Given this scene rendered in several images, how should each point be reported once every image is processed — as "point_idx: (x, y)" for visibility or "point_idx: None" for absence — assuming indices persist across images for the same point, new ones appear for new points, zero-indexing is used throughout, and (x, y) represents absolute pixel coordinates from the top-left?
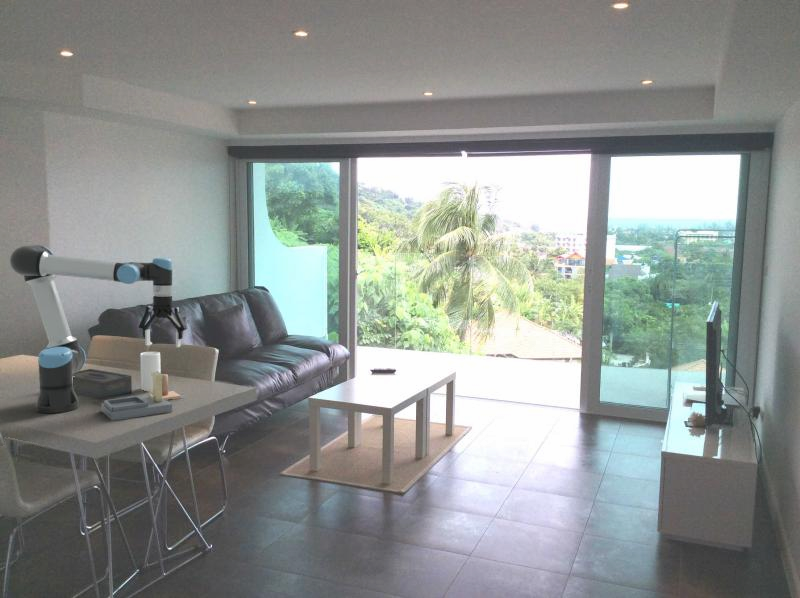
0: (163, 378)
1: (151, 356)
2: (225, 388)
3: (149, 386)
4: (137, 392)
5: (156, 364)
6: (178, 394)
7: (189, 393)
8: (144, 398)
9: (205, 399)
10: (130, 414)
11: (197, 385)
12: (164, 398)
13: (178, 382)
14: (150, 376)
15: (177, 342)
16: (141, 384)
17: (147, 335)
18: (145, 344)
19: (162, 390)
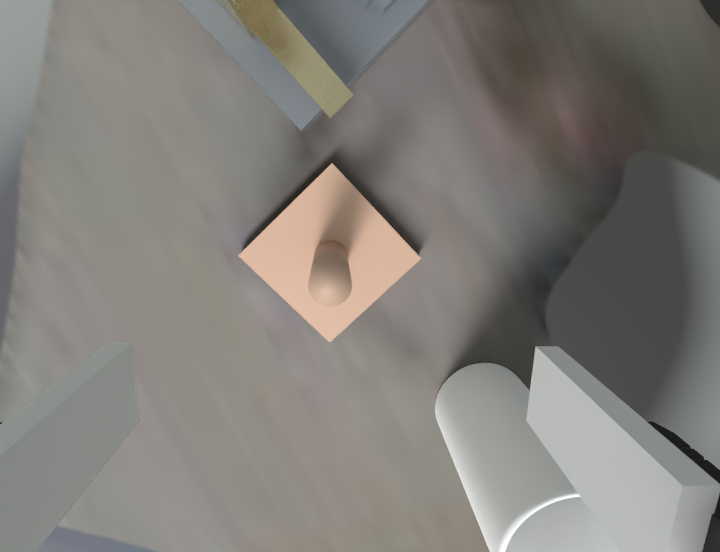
0: (327, 260)
1: (533, 496)
2: (122, 479)
3: (477, 376)
4: (517, 330)
5: (483, 475)
6: (262, 275)
7: (249, 356)
8: (354, 53)
9: (101, 253)
10: None
11: (290, 506)
12: (301, 193)
13: (408, 540)
14: (488, 405)
15: (72, 373)
16: (528, 389)
17: (607, 437)
18: (561, 351)
19: (336, 245)
